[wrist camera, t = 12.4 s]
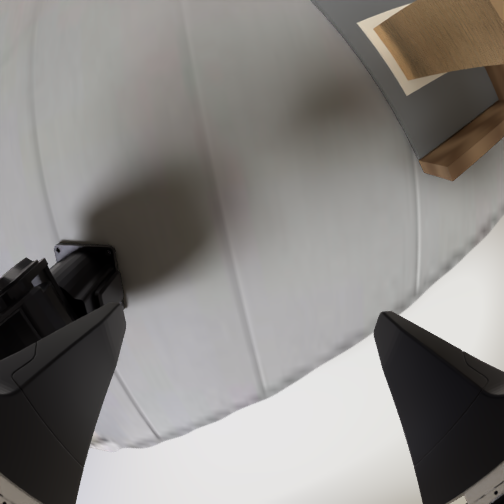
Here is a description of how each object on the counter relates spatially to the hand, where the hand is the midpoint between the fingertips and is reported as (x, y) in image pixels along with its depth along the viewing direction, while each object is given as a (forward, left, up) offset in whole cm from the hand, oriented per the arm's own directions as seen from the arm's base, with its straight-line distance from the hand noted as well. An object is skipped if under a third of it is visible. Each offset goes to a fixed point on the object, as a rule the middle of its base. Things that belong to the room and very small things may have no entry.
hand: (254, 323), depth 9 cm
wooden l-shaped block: (+13, +17, -12) cm, 25 cm away
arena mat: (+14, +17, -13) cm, 25 cm away
